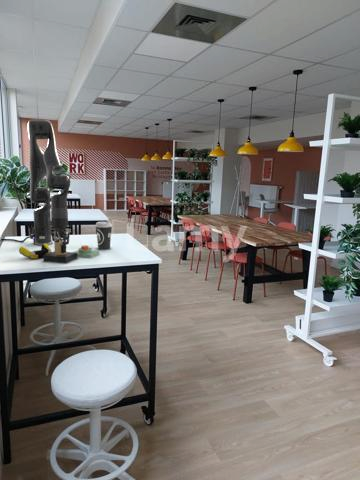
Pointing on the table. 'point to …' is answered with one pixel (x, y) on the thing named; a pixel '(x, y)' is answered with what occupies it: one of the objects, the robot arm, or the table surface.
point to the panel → (60, 257)
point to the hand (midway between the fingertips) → (60, 251)
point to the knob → (58, 248)
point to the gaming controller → (35, 252)
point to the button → (84, 247)
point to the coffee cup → (103, 235)
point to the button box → (86, 253)
